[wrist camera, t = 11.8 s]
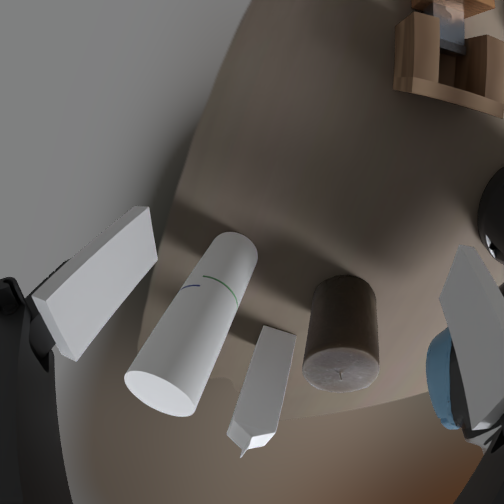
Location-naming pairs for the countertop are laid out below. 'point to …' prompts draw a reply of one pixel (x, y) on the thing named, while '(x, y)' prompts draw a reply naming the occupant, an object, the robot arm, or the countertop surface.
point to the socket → (448, 66)
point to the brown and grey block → (452, 20)
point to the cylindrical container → (193, 328)
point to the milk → (262, 390)
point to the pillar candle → (342, 336)
